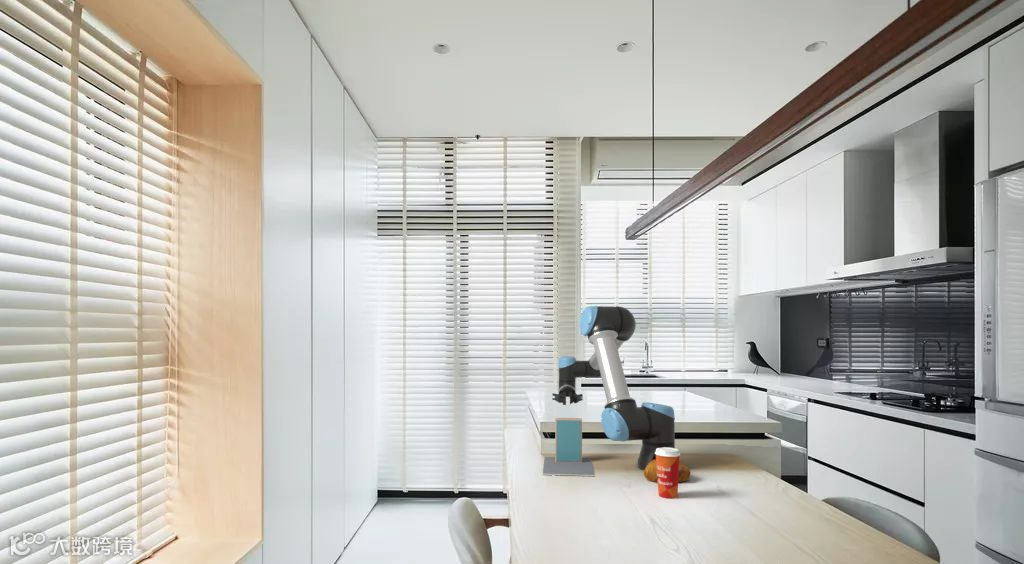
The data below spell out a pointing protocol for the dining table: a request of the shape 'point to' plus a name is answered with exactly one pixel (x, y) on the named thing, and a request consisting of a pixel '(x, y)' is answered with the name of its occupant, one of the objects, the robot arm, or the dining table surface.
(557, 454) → the tile
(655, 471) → the croissant
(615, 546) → the dining table surface
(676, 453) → the paper cup
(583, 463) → the mat
